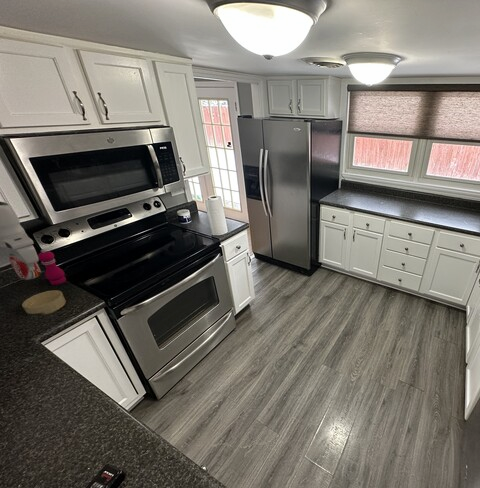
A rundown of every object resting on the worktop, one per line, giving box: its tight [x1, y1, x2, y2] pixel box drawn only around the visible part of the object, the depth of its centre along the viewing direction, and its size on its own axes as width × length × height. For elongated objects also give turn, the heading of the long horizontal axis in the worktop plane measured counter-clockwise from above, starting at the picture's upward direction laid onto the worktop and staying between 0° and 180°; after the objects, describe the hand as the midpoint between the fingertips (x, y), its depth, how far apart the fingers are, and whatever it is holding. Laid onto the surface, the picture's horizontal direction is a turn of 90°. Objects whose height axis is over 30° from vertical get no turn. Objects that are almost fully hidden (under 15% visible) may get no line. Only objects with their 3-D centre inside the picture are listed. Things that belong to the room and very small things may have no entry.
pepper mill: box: [37, 249, 67, 286], centre depth 139 cm, size 7×7×20 cm
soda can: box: [8, 254, 42, 281], centre depth 115 cm, size 7×7×12 cm
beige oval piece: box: [21, 289, 67, 316], centre depth 123 cm, size 13×13×6 cm
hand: (27, 267), depth 116 cm, fingers closed on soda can, 7 cm apart
